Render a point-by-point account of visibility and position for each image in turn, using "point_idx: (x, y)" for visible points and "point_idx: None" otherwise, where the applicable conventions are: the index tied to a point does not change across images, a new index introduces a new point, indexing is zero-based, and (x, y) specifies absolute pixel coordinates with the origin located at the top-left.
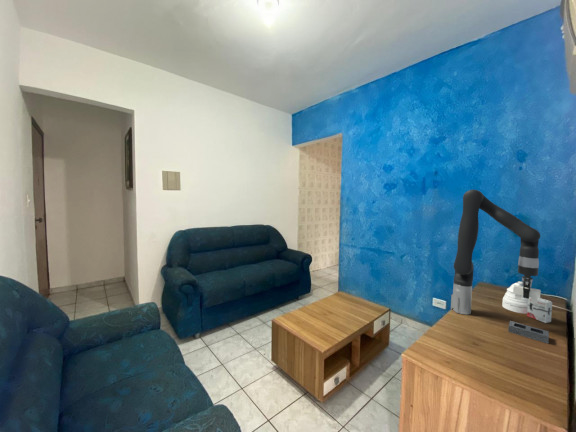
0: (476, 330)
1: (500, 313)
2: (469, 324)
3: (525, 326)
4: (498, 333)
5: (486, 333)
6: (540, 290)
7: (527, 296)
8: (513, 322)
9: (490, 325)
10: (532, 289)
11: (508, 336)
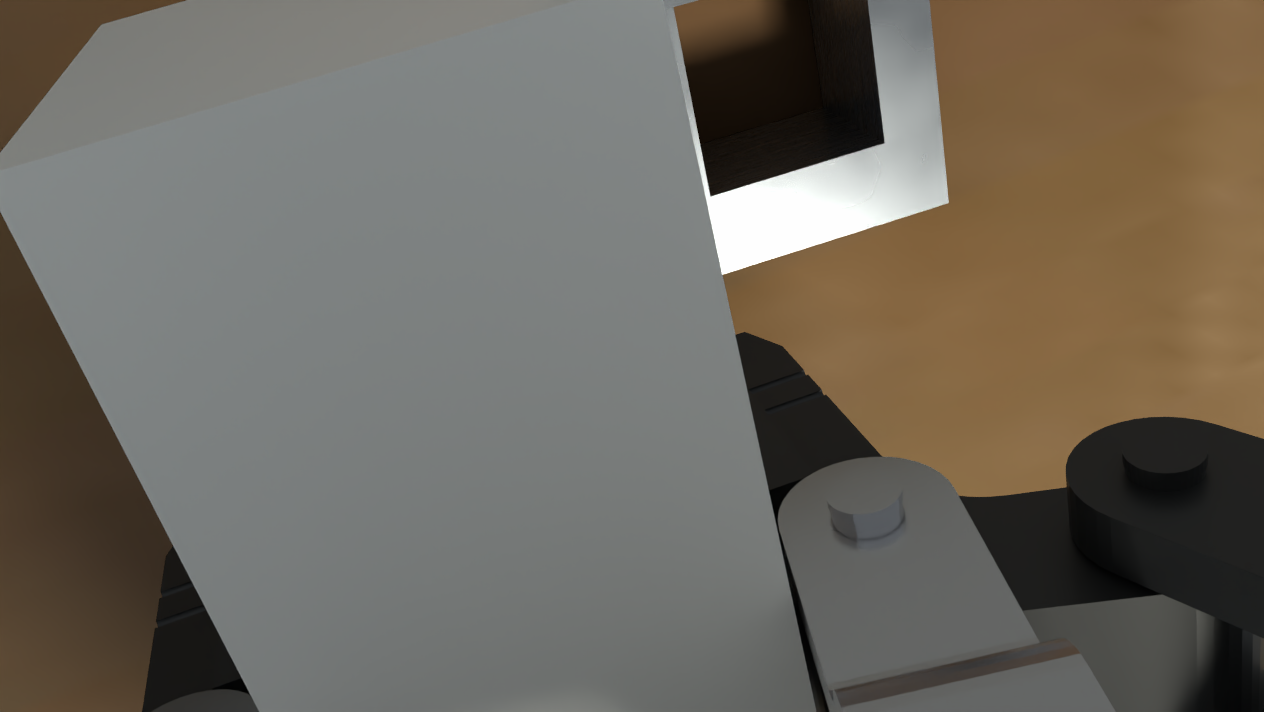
0: (1229, 408)
1: (47, 619)
2: None
3: (671, 11)
4: (1083, 214)
5: (1224, 298)
6: (246, 100)
7: (796, 369)
8: None
9: (866, 412)
10: (604, 521)
11: (1073, 85)
